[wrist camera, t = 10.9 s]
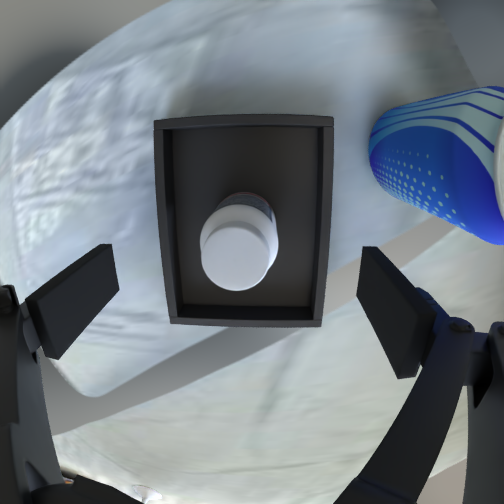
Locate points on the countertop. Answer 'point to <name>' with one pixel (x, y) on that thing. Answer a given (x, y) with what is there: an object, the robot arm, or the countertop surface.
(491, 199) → the beer can
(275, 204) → the tray
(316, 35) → the countertop surface
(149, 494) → the champagne flute
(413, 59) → the countertop surface
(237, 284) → the pill bottle
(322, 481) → the countertop surface
